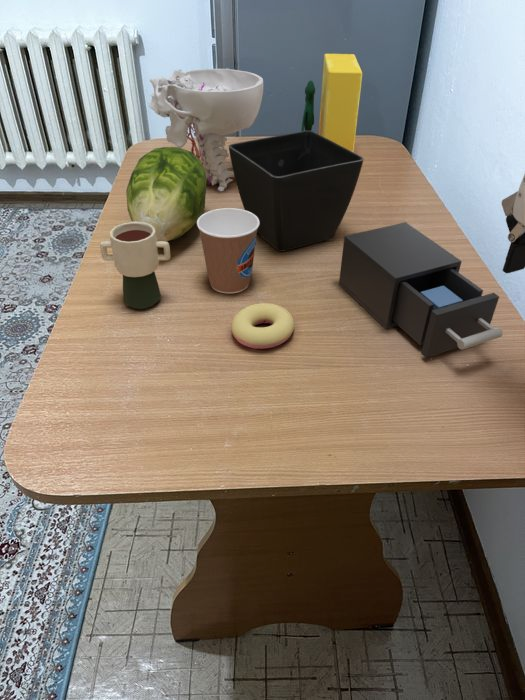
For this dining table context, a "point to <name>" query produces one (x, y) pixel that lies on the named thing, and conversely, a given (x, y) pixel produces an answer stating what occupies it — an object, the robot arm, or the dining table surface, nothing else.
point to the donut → (267, 335)
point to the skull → (208, 112)
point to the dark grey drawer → (445, 313)
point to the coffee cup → (228, 247)
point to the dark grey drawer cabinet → (388, 266)
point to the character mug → (136, 261)
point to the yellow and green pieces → (336, 100)
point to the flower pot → (295, 186)
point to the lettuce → (167, 191)
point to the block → (441, 297)
